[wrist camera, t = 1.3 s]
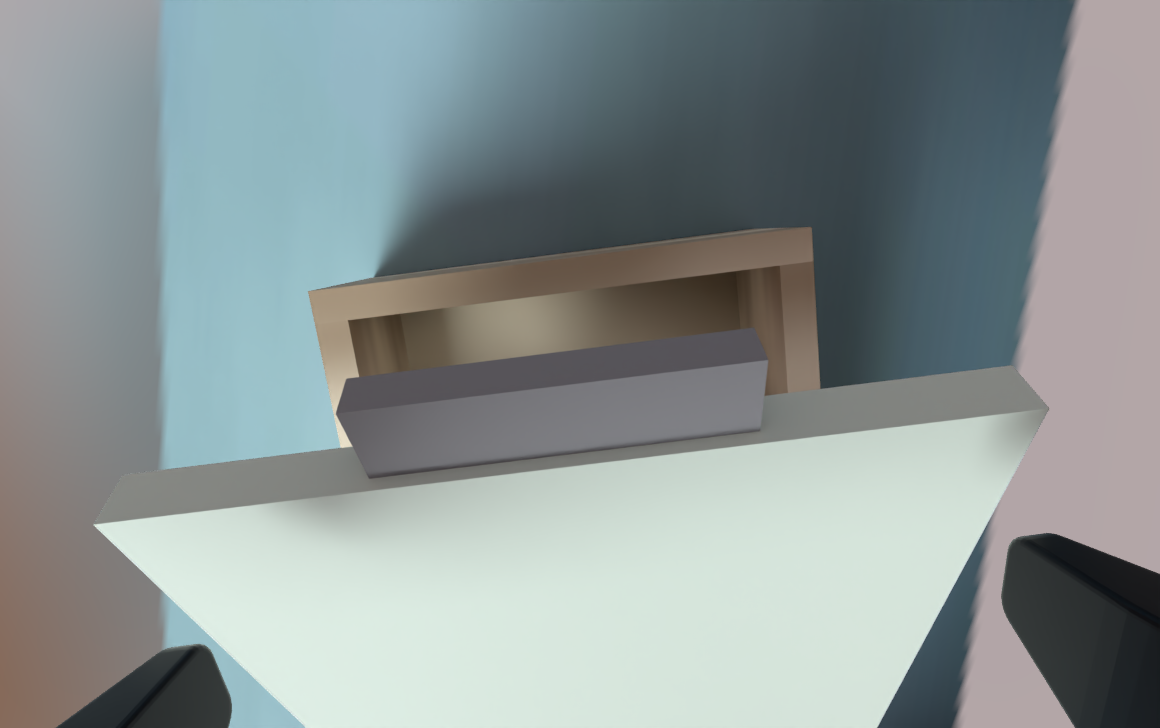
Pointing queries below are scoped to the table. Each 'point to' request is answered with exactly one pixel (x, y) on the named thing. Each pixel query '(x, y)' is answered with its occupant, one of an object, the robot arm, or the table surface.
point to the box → (579, 307)
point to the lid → (591, 541)
